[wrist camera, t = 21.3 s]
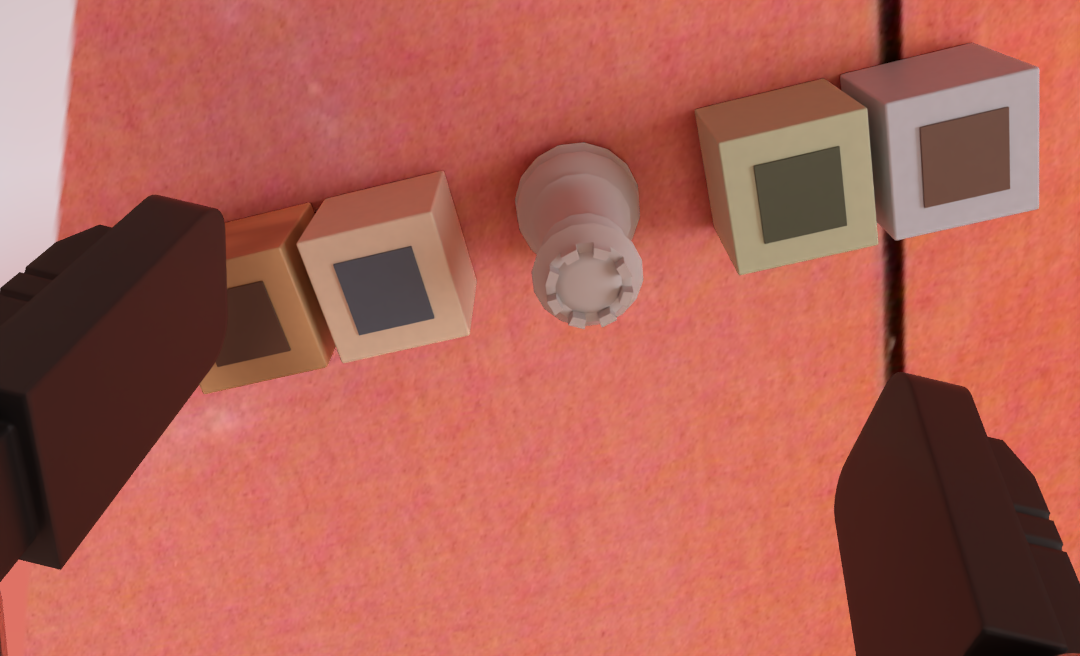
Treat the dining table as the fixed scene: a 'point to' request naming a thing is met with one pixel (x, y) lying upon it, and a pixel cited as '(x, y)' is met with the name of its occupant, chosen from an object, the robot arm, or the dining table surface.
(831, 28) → the dining table surface
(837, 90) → the block
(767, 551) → the dining table surface
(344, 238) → the block
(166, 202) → the robot arm
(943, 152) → the block
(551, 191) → the rook chess piece
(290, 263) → the block
